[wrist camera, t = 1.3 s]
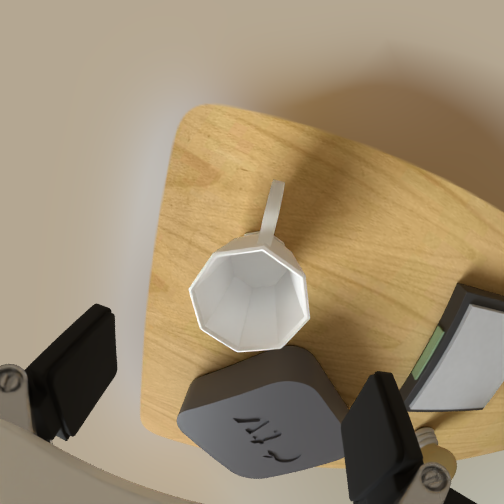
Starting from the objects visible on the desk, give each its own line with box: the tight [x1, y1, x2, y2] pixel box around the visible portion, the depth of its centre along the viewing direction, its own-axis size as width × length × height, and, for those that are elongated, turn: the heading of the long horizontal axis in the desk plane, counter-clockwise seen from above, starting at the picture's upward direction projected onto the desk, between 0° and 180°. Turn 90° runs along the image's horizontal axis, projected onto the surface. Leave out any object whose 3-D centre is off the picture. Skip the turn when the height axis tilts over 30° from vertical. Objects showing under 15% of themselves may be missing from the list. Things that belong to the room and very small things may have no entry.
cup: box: [189, 179, 310, 352], centre depth 20 cm, size 7×10×8 cm
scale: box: [400, 283, 504, 412], centre depth 24 cm, size 15×15×3 cm
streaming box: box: [177, 346, 349, 479], centre depth 27 cm, size 14×14×5 cm
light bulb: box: [415, 427, 457, 480], centre depth 25 cm, size 6×6×10 cm
